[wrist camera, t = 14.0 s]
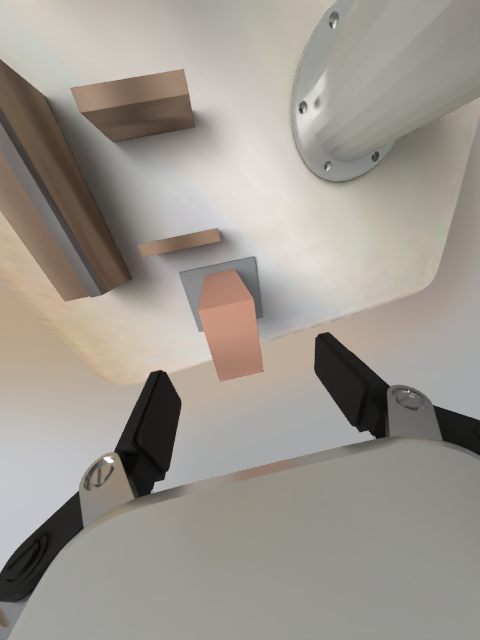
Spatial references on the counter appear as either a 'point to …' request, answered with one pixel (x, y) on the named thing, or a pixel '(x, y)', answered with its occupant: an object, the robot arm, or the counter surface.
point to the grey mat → (195, 277)
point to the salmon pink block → (230, 325)
